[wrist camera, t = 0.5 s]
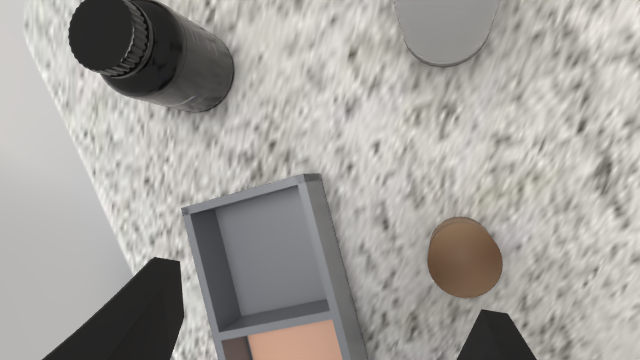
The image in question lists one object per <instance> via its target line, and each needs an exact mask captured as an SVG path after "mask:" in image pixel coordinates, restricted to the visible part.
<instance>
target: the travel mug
mask: <svg viewBox="0 0 640 360" xmlns="http://www.w3.org/2000/svg"><path fill="white" fill-rule="evenodd" d="M499 2H500V0H393V3H394V6H395V10H396V13H397V17H398V20H399V23H400V27H401V30H402V33H403V37H404V40H405V42H406V45H407V47H408V48H409V50H410V51H411V53H412V54H413V55H414V56H415V57H416V58H418V59H419V60H421V61H422V62H424V63H426V64H429V65H432V66H438V67H448V66H454V65H458V64H460V63H462V62H465V61H467V60H468V59H470V58H471V57H472V56H474V55H475V54H476V53H477V52H478V51H479V50H480V49H481V47H482V46H483V44H484V43H485V41H486V39H487V37H488V34H489V32H490V29H491V26H492V23H493V20H494V17H495V14H496V11H497V8H498V5H499Z"/></svg>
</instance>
